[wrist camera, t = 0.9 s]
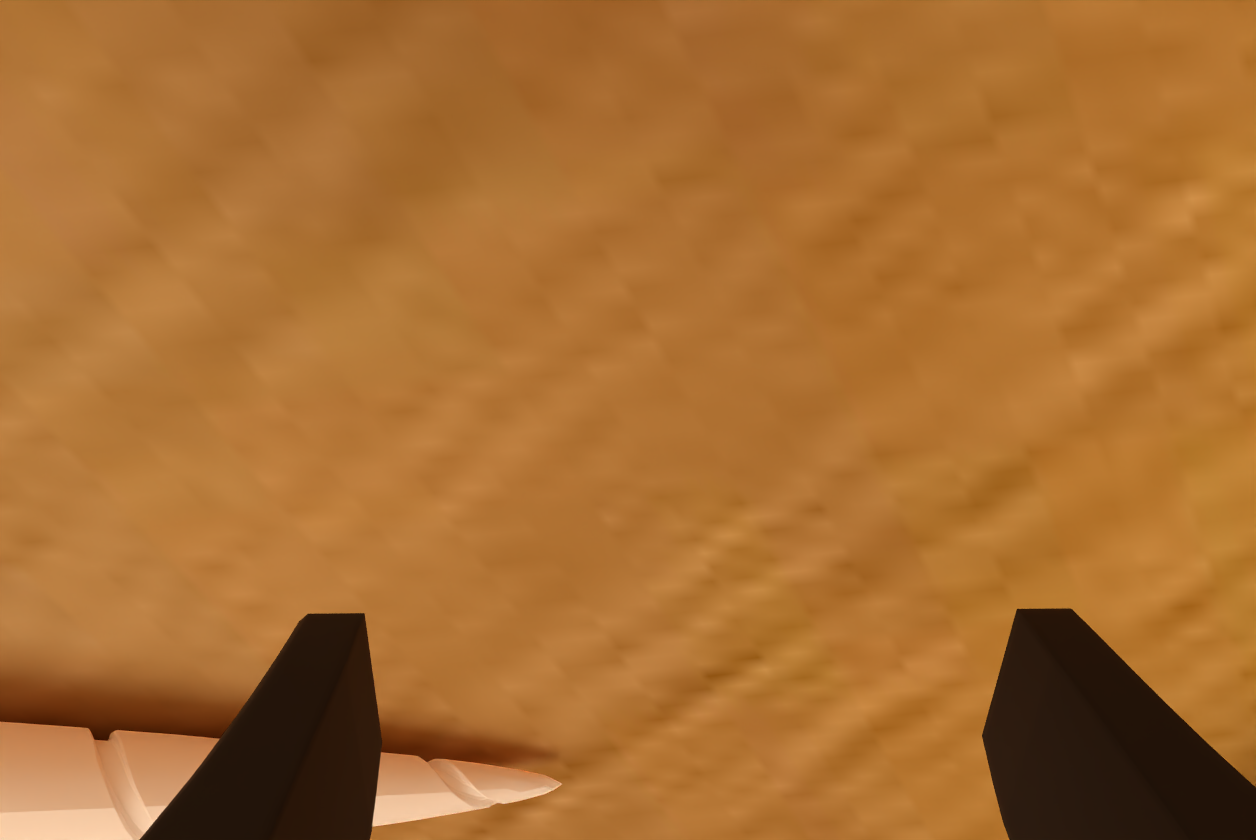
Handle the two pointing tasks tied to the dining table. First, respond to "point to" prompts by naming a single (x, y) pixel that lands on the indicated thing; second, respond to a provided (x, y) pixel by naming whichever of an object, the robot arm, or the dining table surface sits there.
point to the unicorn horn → (163, 763)
